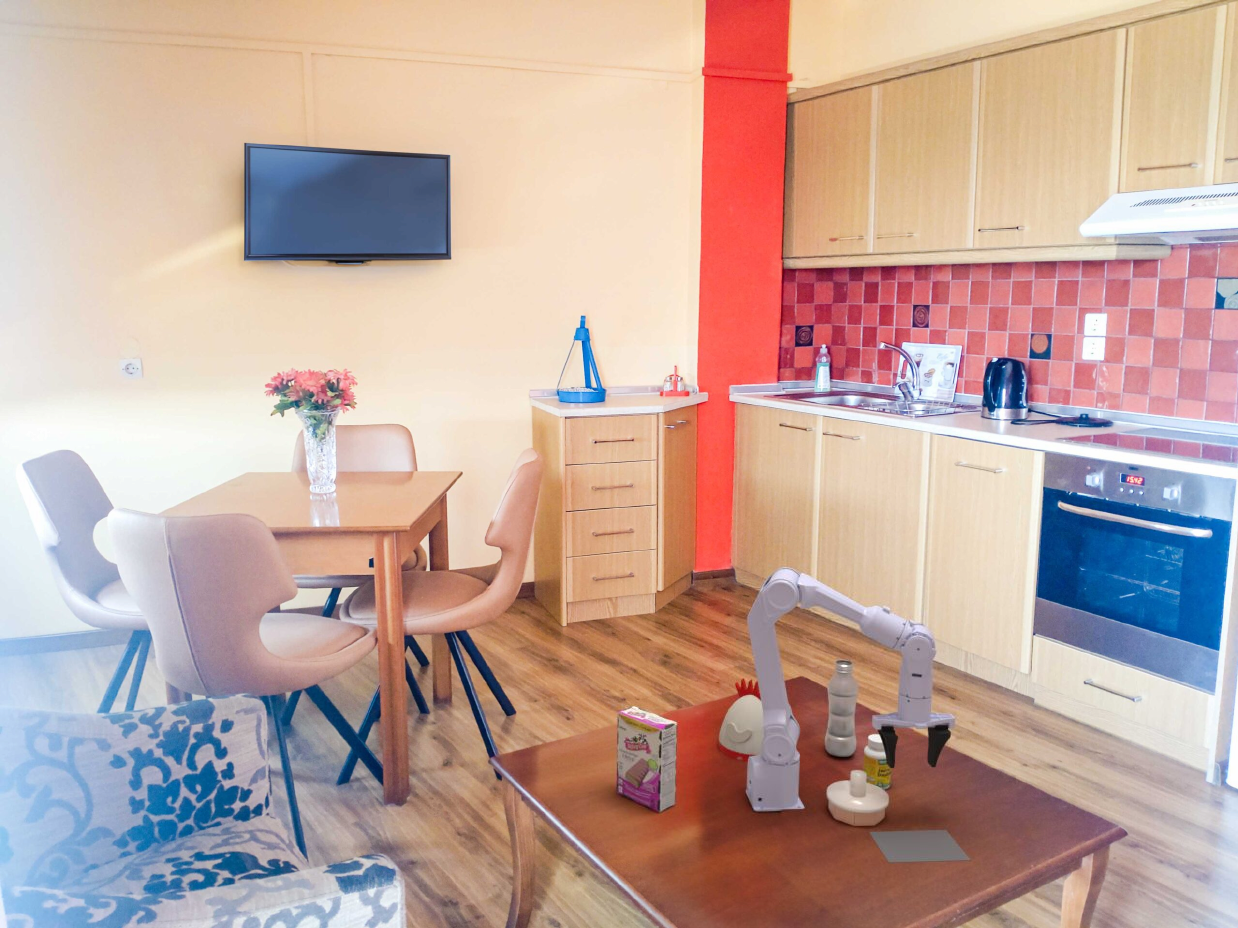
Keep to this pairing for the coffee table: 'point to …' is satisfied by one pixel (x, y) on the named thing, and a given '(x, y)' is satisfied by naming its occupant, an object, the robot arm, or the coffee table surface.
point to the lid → (857, 794)
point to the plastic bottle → (841, 710)
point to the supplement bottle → (876, 763)
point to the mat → (918, 846)
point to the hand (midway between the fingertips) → (911, 765)
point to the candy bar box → (646, 758)
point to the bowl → (856, 816)
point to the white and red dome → (743, 724)
